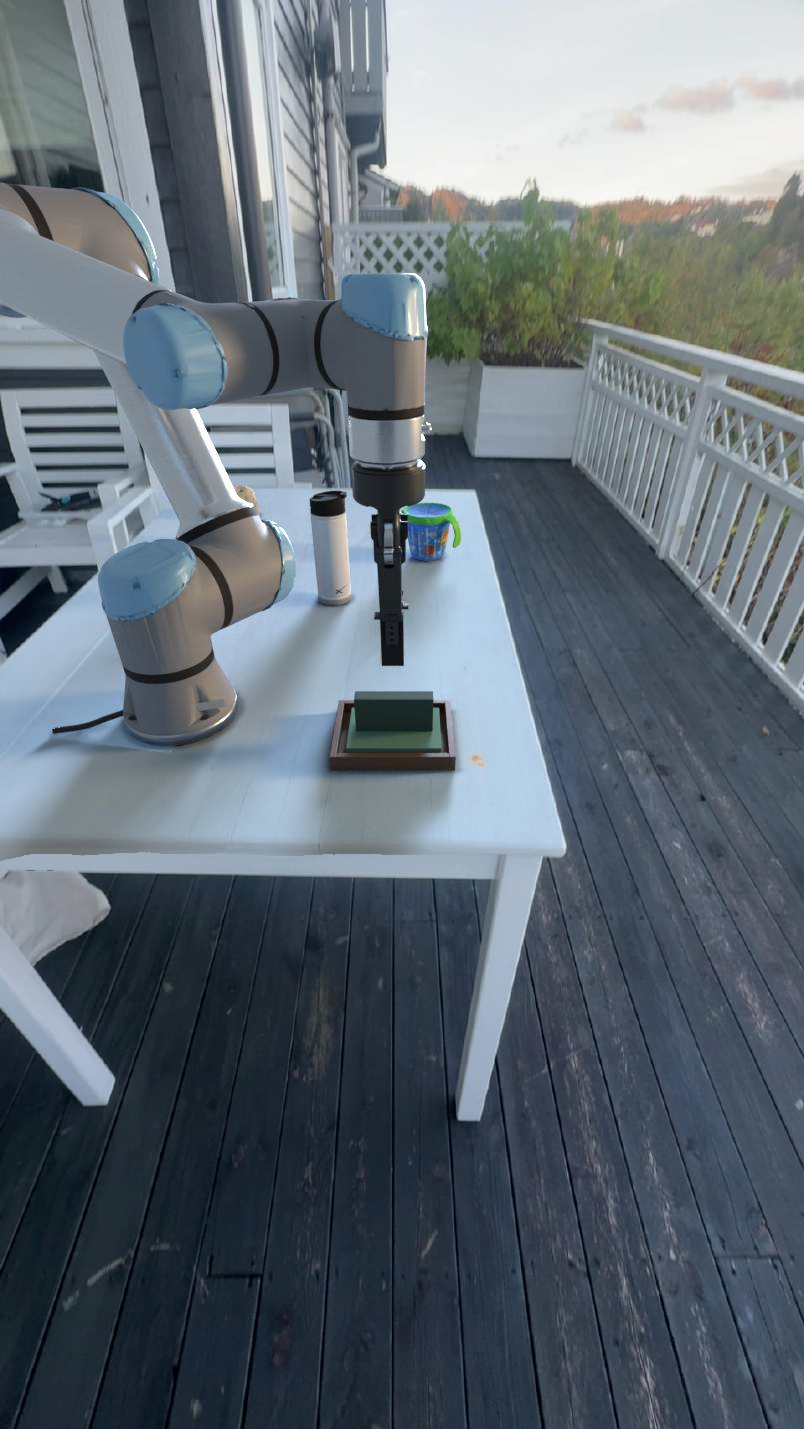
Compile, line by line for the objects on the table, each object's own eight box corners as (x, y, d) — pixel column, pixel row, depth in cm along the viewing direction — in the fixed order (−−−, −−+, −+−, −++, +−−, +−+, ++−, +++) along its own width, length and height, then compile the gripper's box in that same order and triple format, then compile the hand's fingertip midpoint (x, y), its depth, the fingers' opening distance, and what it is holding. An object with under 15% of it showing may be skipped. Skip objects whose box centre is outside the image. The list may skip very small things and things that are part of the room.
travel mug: (348, 607, 116) (340, 498, 105) (314, 604, 117) (303, 496, 106) (356, 593, 121) (350, 488, 110) (324, 591, 122) (314, 486, 111)
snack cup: (384, 554, 138) (383, 507, 132) (416, 541, 145) (416, 496, 139) (439, 572, 130) (440, 523, 124) (470, 557, 136) (472, 511, 130)
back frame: (330, 770, 78) (329, 757, 77) (339, 712, 89) (338, 700, 87) (455, 770, 78) (455, 756, 77) (449, 712, 88) (450, 699, 87)
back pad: (346, 757, 79) (343, 715, 76) (352, 716, 87) (349, 676, 83) (441, 757, 79) (442, 715, 75) (438, 716, 86) (439, 676, 83)
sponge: (261, 533, 162) (272, 495, 161) (236, 520, 153) (248, 480, 152) (235, 527, 166) (246, 490, 165) (209, 514, 157) (220, 475, 156)
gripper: (426, 477, 57) (424, 691, 71) (424, 445, 68) (422, 637, 82) (345, 477, 58) (358, 692, 71) (355, 446, 68) (365, 637, 82)
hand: (392, 662), depth 76 cm, fingers closed
